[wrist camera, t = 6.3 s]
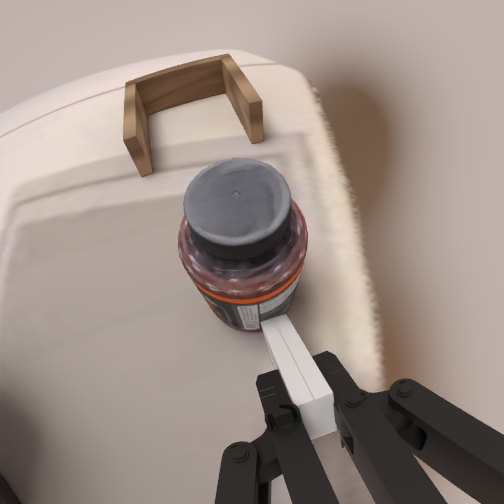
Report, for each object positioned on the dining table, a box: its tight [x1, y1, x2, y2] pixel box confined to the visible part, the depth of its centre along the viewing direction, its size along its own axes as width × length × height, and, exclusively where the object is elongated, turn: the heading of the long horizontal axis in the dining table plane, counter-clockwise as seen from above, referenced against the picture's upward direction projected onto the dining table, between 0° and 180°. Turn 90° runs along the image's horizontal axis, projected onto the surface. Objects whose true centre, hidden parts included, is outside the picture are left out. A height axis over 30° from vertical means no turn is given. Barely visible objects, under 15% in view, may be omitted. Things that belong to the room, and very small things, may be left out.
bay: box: [123, 54, 263, 177], centre depth 27 cm, size 12×12×5 cm
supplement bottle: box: [178, 158, 308, 331], centre depth 15 cm, size 6×6×11 cm
